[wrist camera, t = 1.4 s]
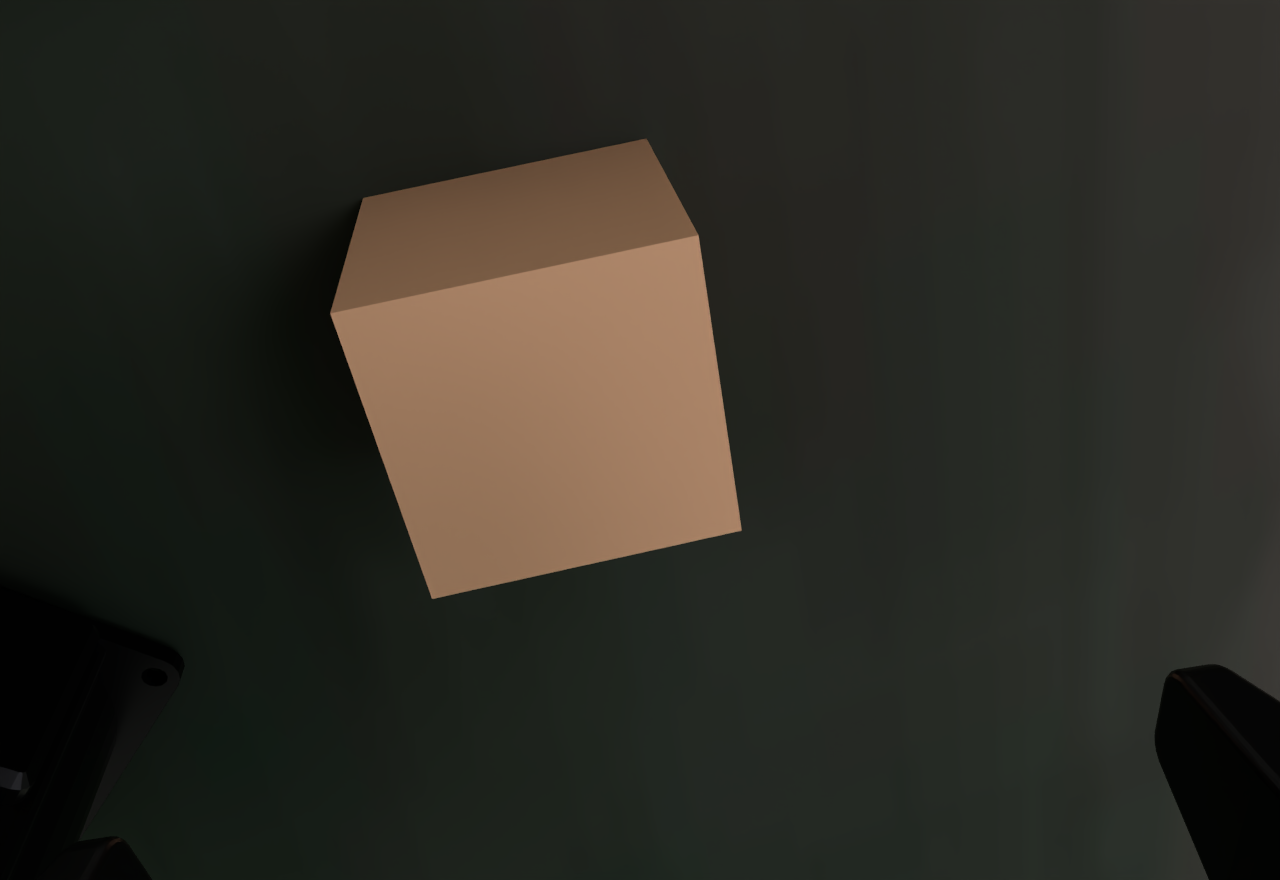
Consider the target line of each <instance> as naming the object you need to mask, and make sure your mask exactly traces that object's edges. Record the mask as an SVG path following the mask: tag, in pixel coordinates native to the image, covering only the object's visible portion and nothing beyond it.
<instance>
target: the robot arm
mask: <svg viewBox="0 0 1280 880" xmlns="http://www.w3.org/2000/svg"><path fill="white" fill-rule="evenodd" d="M150 668H157V669H161V670H162V671H164V673H156V672H153V671H152V670H150ZM183 669H184V662H183V659H182V657H181V656H180V655H179V654H178V653H177V652H175V651H173V650H172V649H170V648H167V647H165V646H162V645H159V644H157V643H154V642H151V641H148V640H146V639H143V638H140V637H138V636H135V635H132V634H129V633H127V632H124V631H121V630H119V629H116V628H113V627H110V626H108V625H105V624H102V623H100V622H97V621H94V620H91V619H89V618H86V617H83V616H81V615H78V614H75V613H72V612H70V611H67V610H64V609H62V608H59V607H56V606H53V605H51V604H48V603H45V602H43V601H40V600H37V599H34V598H32V597H29V596H26V595H24V594H21V593H18V592H15V591H13V590H10V589H7V588H5V587H2V586H0V880H152V878H151V877H150V876H149V874H148V873H147V871H146V870H145V868H144V867H143V865H142V864H141V862H140V861H139V859H138V858H137V856H136V855H135V854H134V852H133V851H132V849H131V848H130V846H129V845H128V844H127V842H126V841H125V840H123V839H121V838H119V837H115V836H110V837H104V838H98V839H91V840H85V841H79V840H80V839H81V837H82V835H83V834H84V832H85V831H86V829H87V828H88V826H89V825H90V823H91V821H92V820H93V818H94V817H95V815H96V814H97V812H98V810H99V809H100V807H101V806H102V804H103V803H104V801H105V799H106V798H107V796H108V795H109V793H110V792H111V790H112V788H113V787H114V785H115V784H116V782H117V781H118V779H119V777H120V776H121V774H122V773H123V771H124V770H125V768H126V766H127V765H128V763H129V762H130V760H131V759H132V757H133V755H134V754H135V752H136V751H137V749H138V748H139V746H140V745H141V743H142V741H143V740H144V738H145V737H146V735H147V734H148V732H149V730H150V729H151V727H152V726H153V724H154V723H155V721H156V719H157V718H158V716H159V715H160V713H161V712H162V710H163V708H164V707H165V705H166V704H167V702H168V701H169V699H170V697H171V696H172V694H173V693H174V691H175V690H176V688H177V686H178V684H179V681H180V678H181V675H182V672H183ZM1155 747H1156V752H1157V756H1158V759H1159V762H1160V765H1161V767H1162V769H1163V772H1164V774H1165V777H1166V779H1167V781H1168V784H1169V786H1170V788H1171V791H1172V793H1173V795H1174V798H1175V800H1176V803H1177V805H1178V807H1179V810H1180V812H1181V814H1182V817H1183V819H1184V822H1185V824H1186V826H1187V829H1188V831H1189V833H1190V836H1191V838H1192V841H1193V843H1194V845H1195V848H1196V850H1197V852H1198V855H1199V857H1200V860H1201V862H1202V864H1203V867H1204V869H1205V871H1206V874H1207V876H1208V879H1209V880H1280V701H1278V700H1277V699H1275V698H1274V697H1272V696H1271V695H1269V694H1267V693H1266V692H1264V691H1263V690H1261V689H1260V688H1258V687H1257V686H1255V685H1253V684H1252V683H1250V682H1249V681H1247V680H1246V679H1244V678H1242V677H1241V676H1239V675H1238V674H1236V673H1235V672H1233V671H1231V670H1230V669H1228V668H1226V667H1223V666H1220V665H1216V664H1208V665H1202V666H1196V667H1189V668H1183V669H1177V670H1174V671H1172V672H1171V673H1170V674H1169V675H1168V676H1167V677H1166V680H1165V683H1164V687H1163V693H1162V698H1161V703H1160V708H1159V713H1158V718H1157V724H1156V729H1155Z"/></svg>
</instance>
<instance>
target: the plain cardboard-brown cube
mask: <svg viewBox="0 0 1280 880" xmlns="http://www.w3.org/2000/svg"><path fill="white" fill-rule="evenodd" d="M330 314H331V317H332V320H333V323H334V325H335V328H336V331H337V334H338V337H339V339H340V342H341V345H342V348H343V351H344V353H345V356H346V359H347V362H348V365H349V367H350V370H351V373H352V376H353V379H354V381H355V384H356V387H357V390H358V393H359V395H360V398H361V401H362V404H363V406H364V409H365V412H366V415H367V418H368V420H369V423H370V426H371V429H372V432H373V434H374V437H375V440H376V443H377V446H378V448H379V451H380V454H381V457H382V460H383V462H384V465H385V468H386V471H387V474H388V476H389V479H390V482H391V485H392V488H393V490H394V493H395V496H396V499H397V502H398V504H399V507H400V510H401V513H402V516H403V518H404V521H405V524H406V527H407V530H408V532H409V535H410V538H411V541H412V544H413V546H414V549H415V552H416V555H417V558H418V560H419V563H420V566H421V569H422V572H423V574H424V577H425V580H426V583H427V586H428V588H429V591H430V594H431V597H432V599H434V598H439V597H443V596H448V595H452V594H457V593H461V592H466V591H470V590H475V589H479V588H484V587H488V586H493V585H497V584H502V583H506V582H511V581H515V580H520V579H524V578H529V577H534V576H538V575H543V574H547V573H552V572H556V571H561V570H565V569H570V568H574V567H579V566H583V565H588V564H592V563H597V562H601V561H606V560H610V559H615V558H619V557H624V556H628V555H633V554H637V553H642V552H646V551H651V550H656V549H660V548H665V547H669V546H674V545H678V544H683V543H687V542H692V541H696V540H701V539H705V538H710V537H714V536H719V535H723V534H728V533H732V532H737V531H741V523H740V516H739V509H738V502H737V496H736V489H735V482H734V475H733V468H732V462H731V455H730V448H729V441H728V434H727V427H726V421H725V414H724V407H723V400H722V393H721V387H720V380H719V373H718V366H717V359H716V352H715V346H714V339H713V332H712V325H711V318H710V311H709V305H708V298H707V291H706V284H705V277H704V271H703V264H702V257H701V250H700V243H699V236H698V234H697V232H696V230H695V228H694V226H693V224H692V223H691V221H690V219H689V217H688V215H687V213H686V211H685V210H684V208H683V206H682V204H681V202H680V200H679V198H678V197H677V195H676V193H675V191H674V189H673V187H672V185H671V183H670V182H669V180H668V178H667V176H666V174H665V172H664V170H663V169H662V167H661V165H660V163H659V161H658V159H657V157H656V156H655V154H654V152H653V150H652V148H651V146H650V144H649V143H648V141H647V139H642V140H637V141H633V142H628V143H623V144H618V145H614V146H609V147H604V148H599V149H595V150H590V151H585V152H580V153H576V154H571V155H566V156H561V157H557V158H552V159H547V160H542V161H537V162H533V163H528V164H523V165H518V166H514V167H509V168H504V169H499V170H495V171H490V172H485V173H480V174H476V175H471V176H466V177H461V178H457V179H452V180H447V181H442V182H438V183H433V184H428V185H423V186H419V187H414V188H409V189H404V190H399V191H395V192H390V193H385V194H380V195H376V196H371V197H366V198H363V200H362V204H361V207H360V211H359V214H358V218H357V221H356V225H355V228H354V232H353V235H352V239H351V242H350V246H349V249H348V253H347V256H346V260H345V263H344V267H343V271H342V274H341V278H340V281H339V285H338V288H337V292H336V295H335V299H334V302H333V306H332V309H331V313H330Z"/></svg>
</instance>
